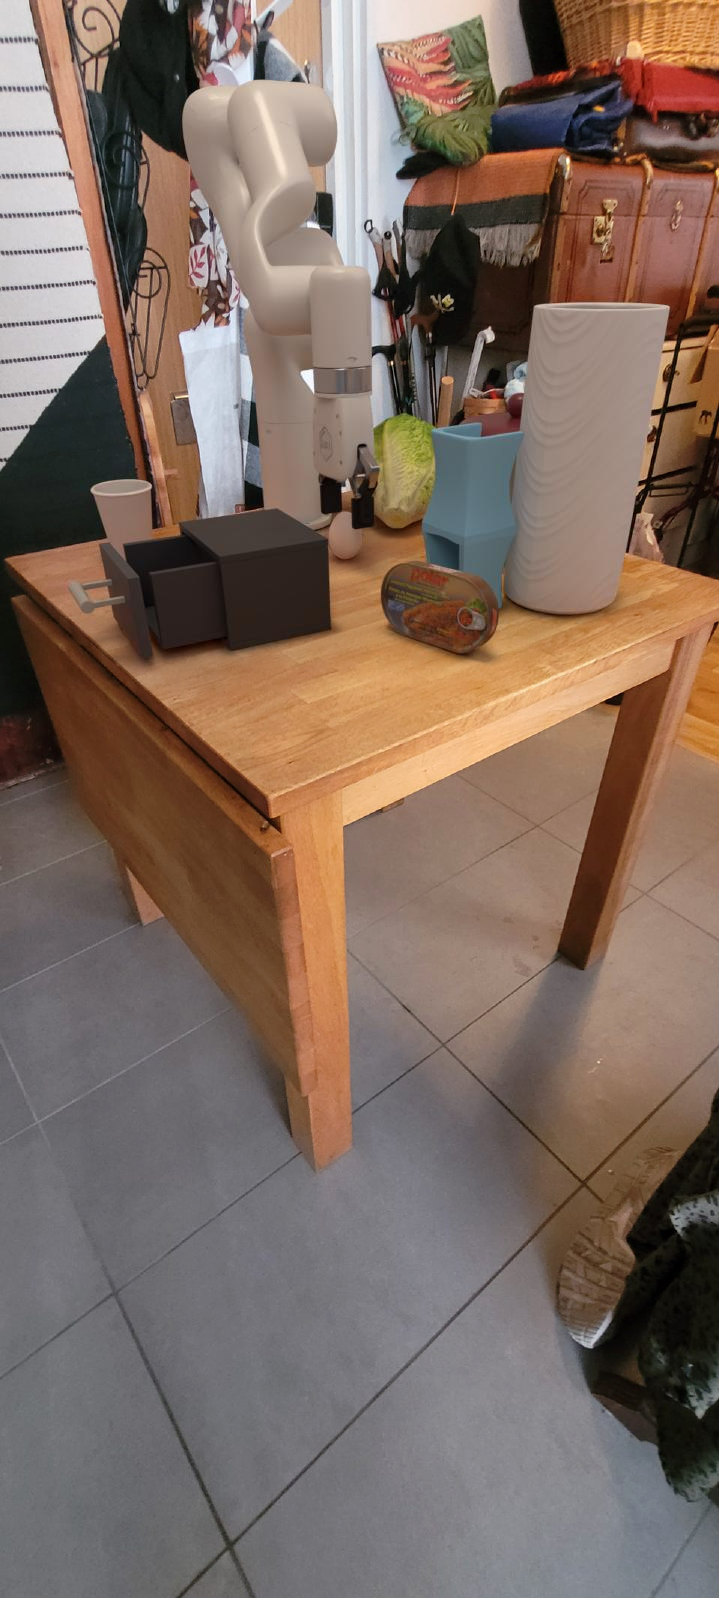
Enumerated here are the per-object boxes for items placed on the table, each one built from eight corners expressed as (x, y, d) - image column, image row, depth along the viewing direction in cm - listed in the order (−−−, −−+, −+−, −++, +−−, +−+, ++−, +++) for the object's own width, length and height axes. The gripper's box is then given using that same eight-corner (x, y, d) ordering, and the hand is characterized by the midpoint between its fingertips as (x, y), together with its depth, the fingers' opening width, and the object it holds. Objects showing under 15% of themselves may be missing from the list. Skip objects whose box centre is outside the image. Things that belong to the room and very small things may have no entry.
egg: (322, 560, 111) (320, 512, 107) (341, 551, 114) (341, 505, 111) (349, 566, 109) (348, 518, 105) (368, 557, 112) (368, 510, 108)
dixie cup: (104, 568, 109) (90, 495, 103) (104, 551, 116) (90, 481, 110) (164, 563, 111) (153, 490, 105) (160, 546, 117) (150, 477, 112)
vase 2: (543, 625, 91) (587, 310, 73) (481, 587, 102) (505, 304, 83) (640, 606, 95) (704, 306, 77) (570, 571, 106) (612, 300, 88)
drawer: (98, 668, 80) (79, 586, 75) (73, 624, 90) (55, 549, 85) (243, 638, 87) (235, 560, 81) (205, 600, 96) (196, 528, 91)
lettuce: (447, 564, 124) (352, 572, 127) (456, 476, 137) (370, 485, 141) (436, 482, 112) (332, 493, 115) (448, 394, 125) (354, 406, 129)
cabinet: (230, 650, 86) (219, 556, 80) (190, 608, 96) (178, 522, 90) (331, 629, 91) (328, 538, 84) (282, 590, 101) (277, 507, 95)
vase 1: (507, 606, 96) (525, 431, 84) (459, 620, 92) (471, 440, 81) (466, 588, 101) (478, 421, 90) (419, 600, 98) (425, 429, 86)
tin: (378, 627, 91) (379, 556, 86) (395, 619, 93) (397, 549, 88) (482, 663, 83) (489, 587, 78) (499, 654, 84) (507, 579, 80)
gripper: (289, 379, 103) (297, 511, 113) (347, 390, 91) (351, 538, 100) (339, 375, 106) (343, 504, 116) (402, 386, 93) (400, 530, 103)
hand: (346, 519), depth 108 cm, fingers open, 9 cm apart
